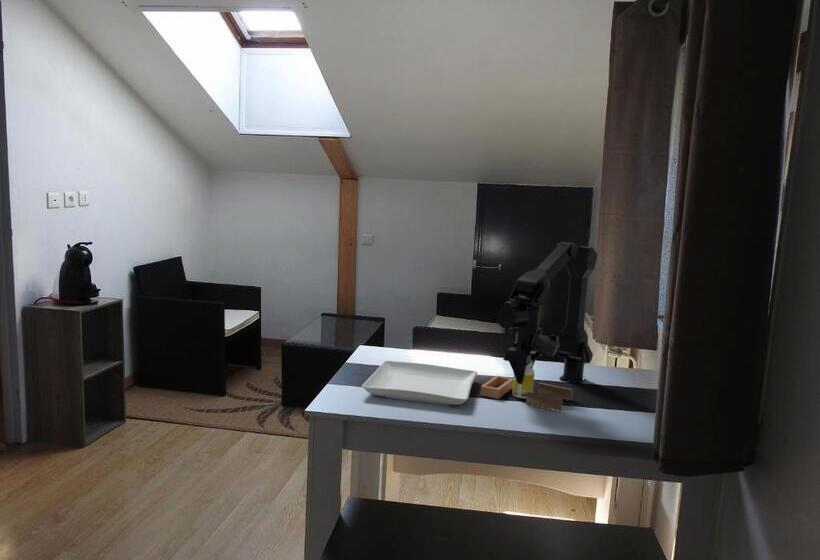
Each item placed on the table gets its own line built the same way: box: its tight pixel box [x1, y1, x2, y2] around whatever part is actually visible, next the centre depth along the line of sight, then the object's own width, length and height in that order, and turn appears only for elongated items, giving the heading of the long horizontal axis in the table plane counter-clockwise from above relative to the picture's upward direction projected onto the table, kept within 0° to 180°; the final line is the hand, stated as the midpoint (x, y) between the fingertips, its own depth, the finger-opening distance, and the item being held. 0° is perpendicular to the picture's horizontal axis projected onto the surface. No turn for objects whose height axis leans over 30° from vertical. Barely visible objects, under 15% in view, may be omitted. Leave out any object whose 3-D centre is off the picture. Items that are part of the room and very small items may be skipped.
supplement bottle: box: [511, 361, 535, 399], centre depth 172 cm, size 5×5×10 cm
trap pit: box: [480, 375, 513, 400], centre depth 176 cm, size 12×5×2 cm, turn 152°
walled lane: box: [525, 382, 574, 412], centre depth 169 cm, size 11×9×3 cm
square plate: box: [361, 360, 478, 406], centre depth 174 cm, size 27×27×4 cm
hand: (523, 381), depth 173 cm, fingers closed on supplement bottle, 5 cm apart
